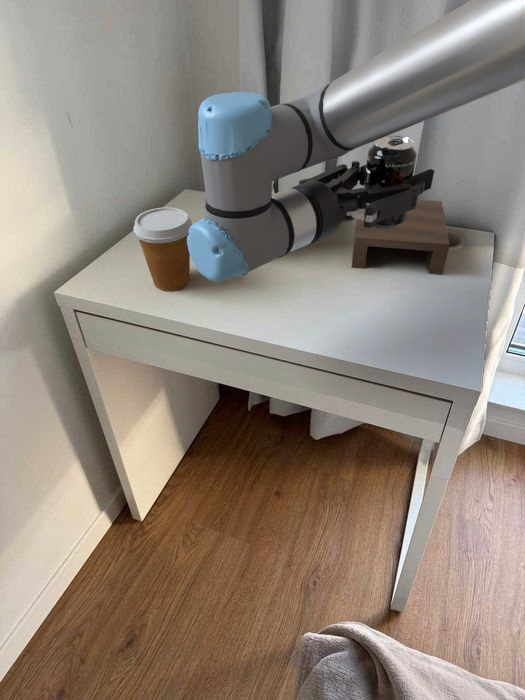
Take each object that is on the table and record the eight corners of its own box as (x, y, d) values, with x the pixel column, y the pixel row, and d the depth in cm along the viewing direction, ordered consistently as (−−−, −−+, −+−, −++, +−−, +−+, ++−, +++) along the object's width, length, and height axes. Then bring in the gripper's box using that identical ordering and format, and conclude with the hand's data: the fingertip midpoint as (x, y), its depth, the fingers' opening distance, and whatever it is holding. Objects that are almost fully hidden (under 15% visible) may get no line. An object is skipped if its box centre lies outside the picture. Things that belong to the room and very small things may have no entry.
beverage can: (413, 221, 77) (428, 141, 69) (386, 236, 73) (399, 153, 66) (378, 208, 81) (388, 131, 73) (351, 221, 77) (359, 142, 70)
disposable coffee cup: (133, 285, 88) (119, 221, 80) (172, 262, 93) (162, 201, 86) (171, 302, 83) (160, 237, 75) (209, 278, 89) (203, 215, 81)
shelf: (442, 274, 88) (449, 244, 84) (351, 267, 91) (354, 237, 87) (435, 229, 102) (441, 201, 98) (356, 223, 104) (359, 196, 100)
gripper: (252, 219, 73) (357, 178, 84) (353, 271, 61) (461, 215, 72) (250, 167, 68) (362, 131, 79) (360, 213, 56) (474, 163, 67)
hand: (409, 171), depth 75 cm, fingers closed on beverage can, 7 cm apart
